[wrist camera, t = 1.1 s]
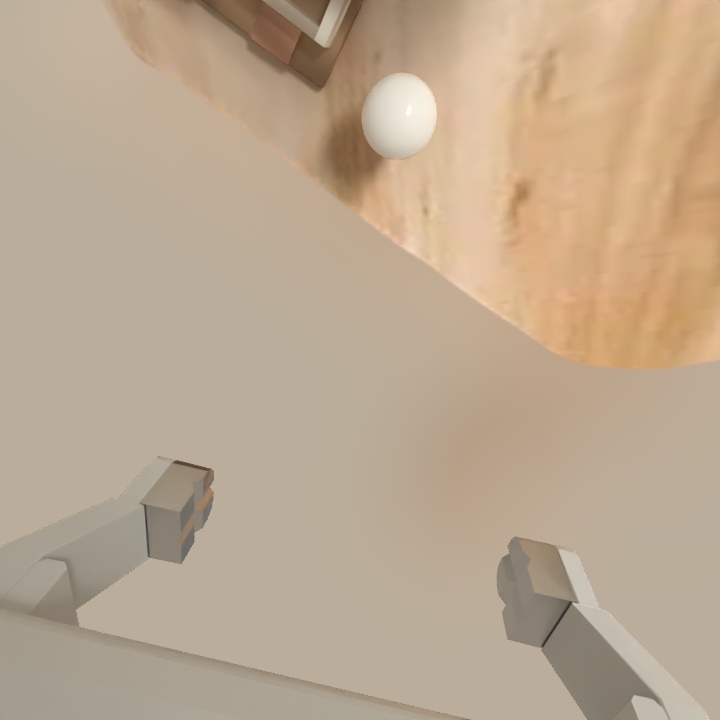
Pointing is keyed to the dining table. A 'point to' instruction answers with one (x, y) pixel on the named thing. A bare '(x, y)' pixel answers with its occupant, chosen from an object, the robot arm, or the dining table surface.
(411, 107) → the lightbulb
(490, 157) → the dining table surface
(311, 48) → the socket board
